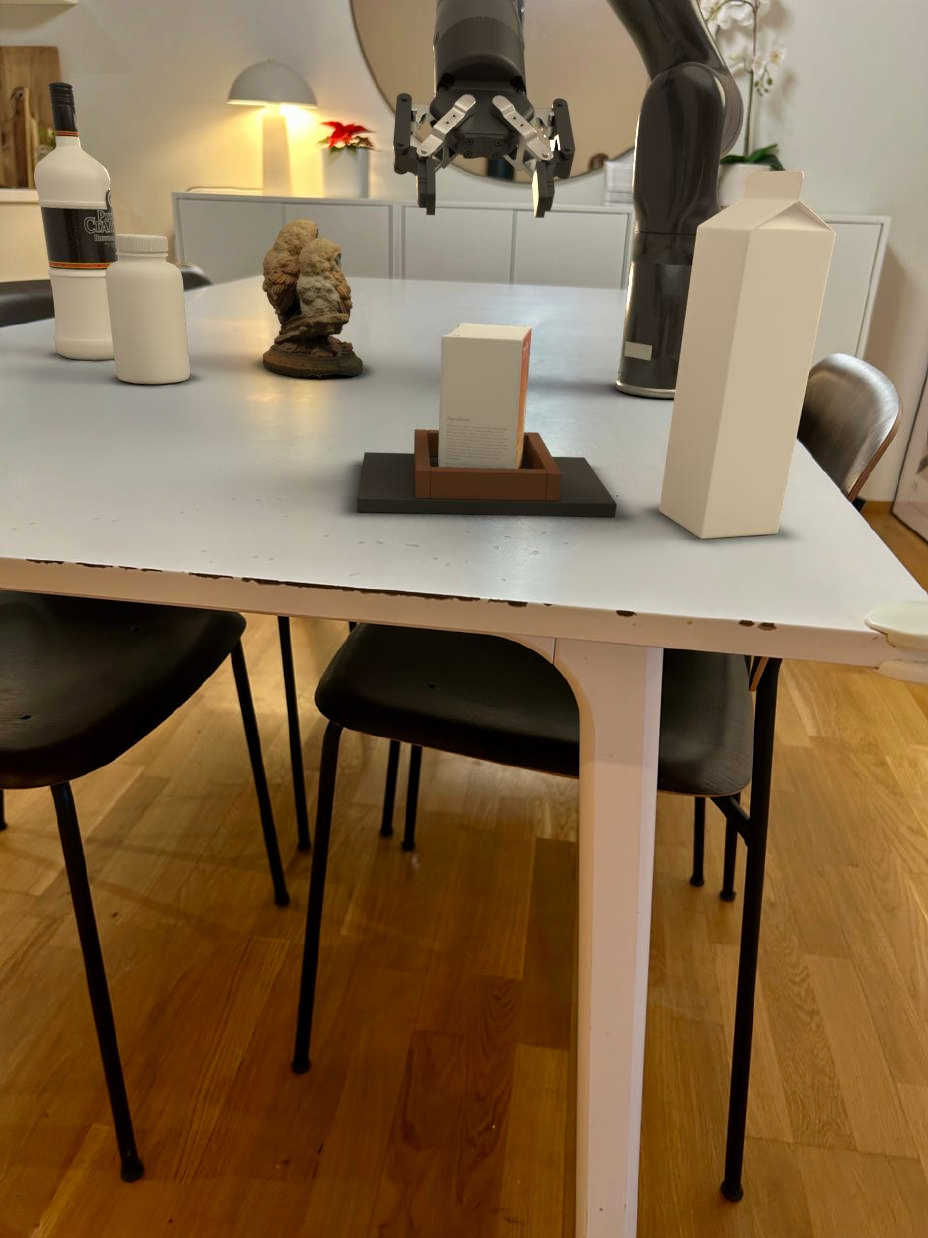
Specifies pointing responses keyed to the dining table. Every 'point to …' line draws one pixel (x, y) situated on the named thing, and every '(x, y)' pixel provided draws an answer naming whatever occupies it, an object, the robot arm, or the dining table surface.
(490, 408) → the small box
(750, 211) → the milk
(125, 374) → the pill bottle
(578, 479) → the dock pad
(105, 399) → the dining table surface
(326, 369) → the owl figurine
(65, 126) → the vodka
